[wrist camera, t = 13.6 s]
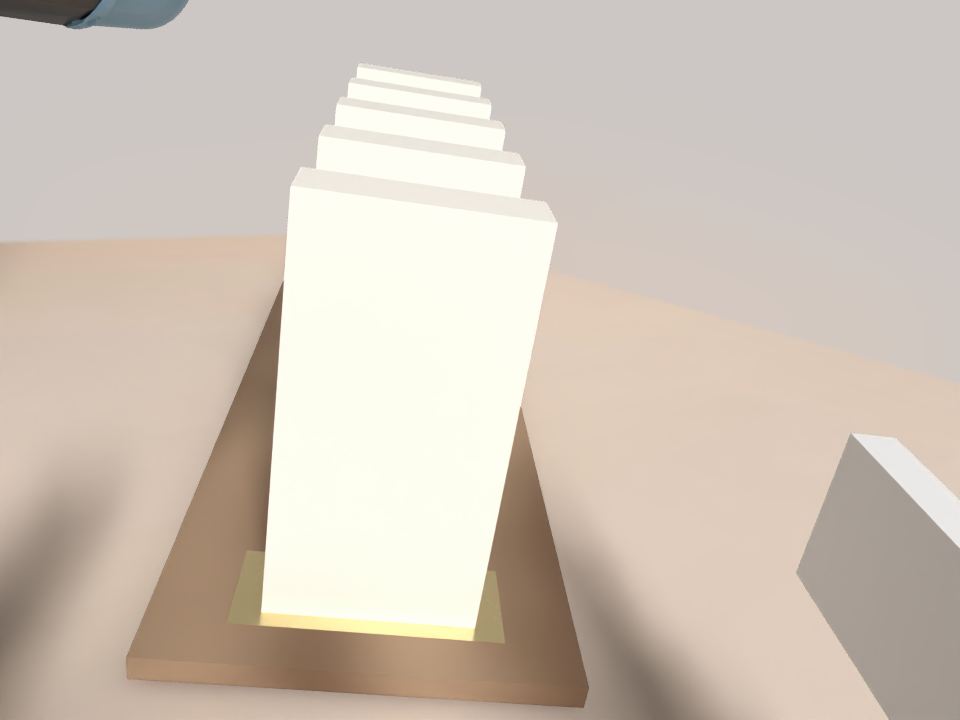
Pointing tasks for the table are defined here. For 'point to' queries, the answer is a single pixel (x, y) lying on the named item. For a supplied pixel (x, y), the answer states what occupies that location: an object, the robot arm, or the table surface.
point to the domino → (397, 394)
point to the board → (338, 641)
